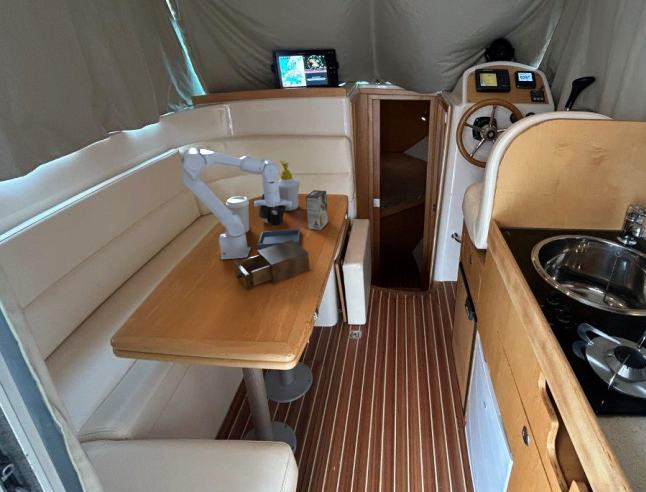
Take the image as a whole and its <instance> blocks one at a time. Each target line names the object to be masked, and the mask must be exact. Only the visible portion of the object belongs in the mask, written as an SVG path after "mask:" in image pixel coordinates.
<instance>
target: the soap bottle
mask: <svg viewBox="0 0 646 492" xmlns="http://www.w3.org/2000/svg"><path fill="white" fill-rule="evenodd" d="M279 162H280V164H281V166H282V167H283V170H282V171H281V174H280V179H278V185H279V194H280V199H281V200H288V201H292V206H291V207H288V206H286V208H285V211H284V212H288V211H289V212H290V211H294V210H297V209H298V207H299V188H300V184H301V181H299V180H298V179H295V178H293V174H292V173H291V171H290V169H288V168H289V164H290V163H289V162H287V161H285V160H279Z"/></svg>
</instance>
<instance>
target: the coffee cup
mask: <svg viewBox="0 0 646 492" xmlns="http://www.w3.org/2000/svg"><path fill="white" fill-rule="evenodd" d="M249 204H250V201H249V199H248V198H247V197H246V196H242V195H241V196H232V197H230V198H228V199H227V200H226V202H225V206H226V207H227V208H228V209H229V210H231V211H232V212H233V213H234V214H237V215H239V216H240V218H241V221H242V224H243V225H244V230H245V233H248V232H249V231H250V211H249Z"/></svg>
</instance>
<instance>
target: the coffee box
mask: <svg viewBox="0 0 646 492" xmlns="http://www.w3.org/2000/svg"><path fill="white" fill-rule="evenodd" d="M305 205H306V217H307V228H308V229H309V230H318V231H320V230H321V231H322V230H323V228H324V227H325V226H326V225H327V224H328V223H329V214H328V213H329V212H328V198H327V190H317V189H316V190H315V189H314V190H312V191H311V192H310V193H308V194H307V195H306V196H305Z"/></svg>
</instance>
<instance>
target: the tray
mask: <svg viewBox="0 0 646 492" xmlns="http://www.w3.org/2000/svg"><path fill="white" fill-rule="evenodd" d="M290 240H293V241H294V242H296V243H297V244H298V245H300V240H301V229H300V228H297V229H296V228H295V229H294V228H293V229H282V230H280V229H279V230H265V231H261V233H260V236H259V239H258V242H257V249H258V250H261V249H264V248H267V247H271V246H274V245H277V244H280V243H283V242H287V241H290Z"/></svg>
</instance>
